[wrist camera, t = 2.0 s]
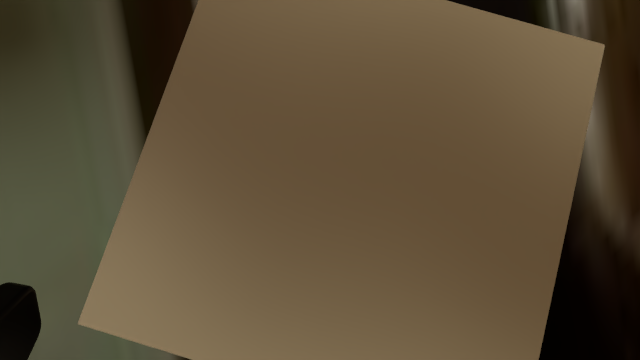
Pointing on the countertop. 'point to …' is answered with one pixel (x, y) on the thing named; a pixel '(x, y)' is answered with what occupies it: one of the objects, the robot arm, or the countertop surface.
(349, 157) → the oak post
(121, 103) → the countertop surface
